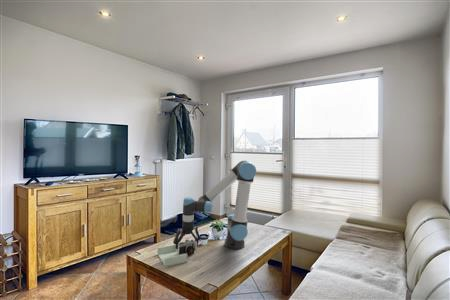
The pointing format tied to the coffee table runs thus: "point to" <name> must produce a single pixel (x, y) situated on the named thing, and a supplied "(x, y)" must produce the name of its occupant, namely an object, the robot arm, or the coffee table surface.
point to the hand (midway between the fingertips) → (186, 251)
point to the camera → (186, 247)
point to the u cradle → (171, 255)
